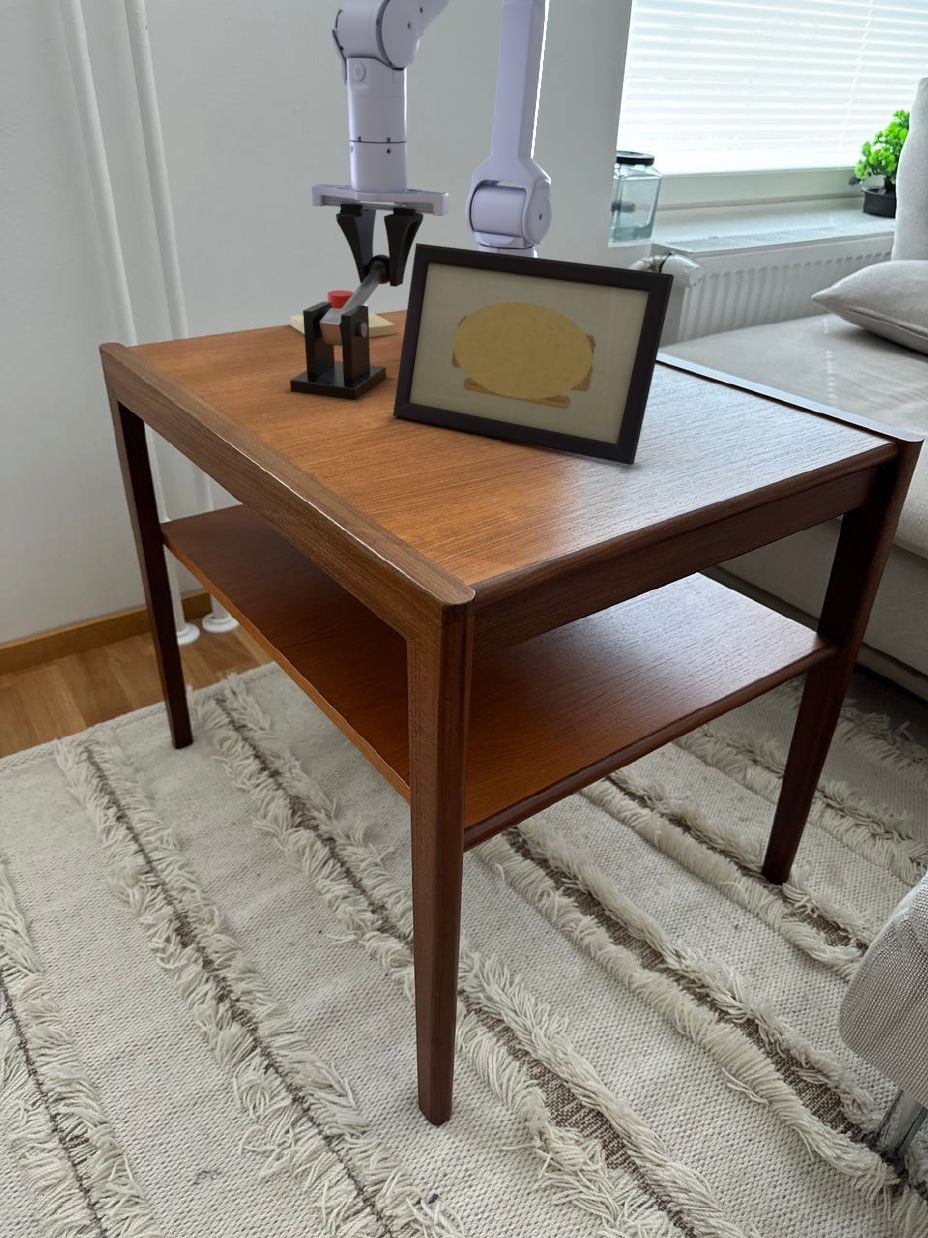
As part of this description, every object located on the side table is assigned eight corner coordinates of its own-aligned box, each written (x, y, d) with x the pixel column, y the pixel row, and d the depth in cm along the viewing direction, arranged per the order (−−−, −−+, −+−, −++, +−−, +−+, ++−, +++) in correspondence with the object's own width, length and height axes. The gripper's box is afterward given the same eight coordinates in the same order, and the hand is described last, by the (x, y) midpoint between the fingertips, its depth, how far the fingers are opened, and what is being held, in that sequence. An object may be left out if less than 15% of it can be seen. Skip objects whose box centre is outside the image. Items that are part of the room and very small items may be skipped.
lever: (375, 274, 98) (371, 247, 96) (400, 277, 97) (397, 250, 95) (320, 346, 89) (314, 318, 87) (347, 349, 88) (342, 321, 86)
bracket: (325, 370, 96) (321, 296, 92) (386, 378, 94) (384, 303, 90) (290, 391, 89) (284, 313, 85) (354, 400, 87) (351, 320, 83)
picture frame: (391, 417, 83) (399, 243, 76) (438, 402, 90) (449, 242, 84) (628, 467, 74) (660, 275, 68) (659, 446, 81) (690, 270, 75)
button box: (364, 317, 115) (363, 293, 114) (395, 334, 109) (394, 308, 107) (290, 325, 111) (288, 300, 109) (318, 343, 104) (316, 317, 103)
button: (348, 303, 110) (347, 289, 109) (358, 309, 108) (358, 294, 107) (324, 306, 109) (323, 291, 108) (334, 312, 107) (333, 296, 106)
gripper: (294, 139, 88) (303, 283, 95) (432, 147, 84) (431, 297, 91) (325, 135, 94) (332, 271, 101) (456, 142, 90) (453, 283, 97)
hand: (381, 283), depth 97 cm, fingers closed on lever, 3 cm apart
